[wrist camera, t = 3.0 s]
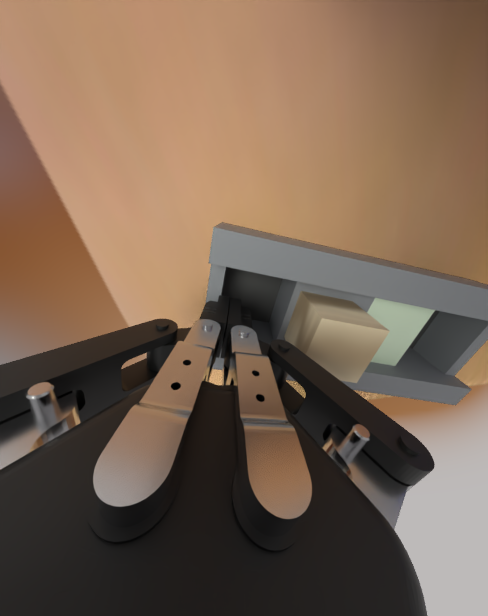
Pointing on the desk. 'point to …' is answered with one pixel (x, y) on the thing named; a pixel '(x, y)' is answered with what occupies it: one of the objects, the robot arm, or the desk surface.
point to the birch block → (335, 334)
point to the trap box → (367, 295)
